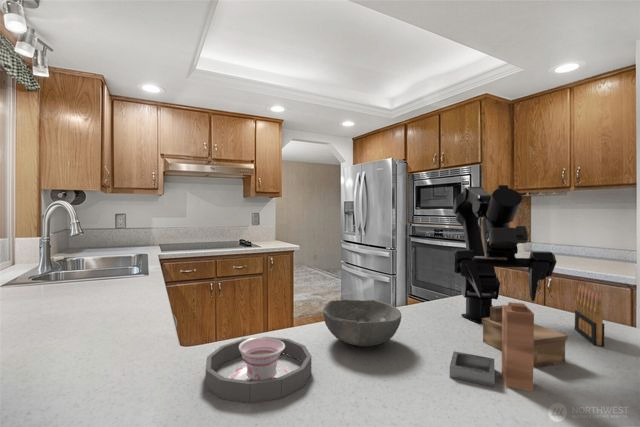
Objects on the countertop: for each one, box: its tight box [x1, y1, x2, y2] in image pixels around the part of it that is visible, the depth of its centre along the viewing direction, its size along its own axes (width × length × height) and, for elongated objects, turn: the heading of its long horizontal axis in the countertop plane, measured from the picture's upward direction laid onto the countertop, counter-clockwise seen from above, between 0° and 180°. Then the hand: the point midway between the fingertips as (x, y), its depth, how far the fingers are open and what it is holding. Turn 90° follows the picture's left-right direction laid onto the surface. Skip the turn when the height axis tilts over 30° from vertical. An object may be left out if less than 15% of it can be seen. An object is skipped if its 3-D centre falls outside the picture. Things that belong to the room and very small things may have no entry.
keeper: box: [449, 350, 496, 388], centre depth 61 cm, size 7×7×2 cm
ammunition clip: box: [574, 283, 605, 347], centre depth 79 cm, size 11×2×12 cm, turn 162°
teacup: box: [226, 336, 293, 381], centre depth 59 cm, size 12×12×6 cm
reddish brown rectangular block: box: [501, 301, 535, 391], centre depth 58 cm, size 4×4×14 cm
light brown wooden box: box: [482, 323, 566, 369], centre depth 71 cm, size 13×8×4 cm, turn 17°
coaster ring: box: [205, 336, 312, 404], centre depth 61 cm, size 19×19×3 cm
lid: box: [482, 304, 568, 345], centre depth 71 cm, size 13×8×4 cm, turn 17°
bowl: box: [322, 299, 402, 347], centre depth 76 cm, size 18×18×8 cm
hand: (506, 298), depth 66 cm, fingers open, 9 cm apart
